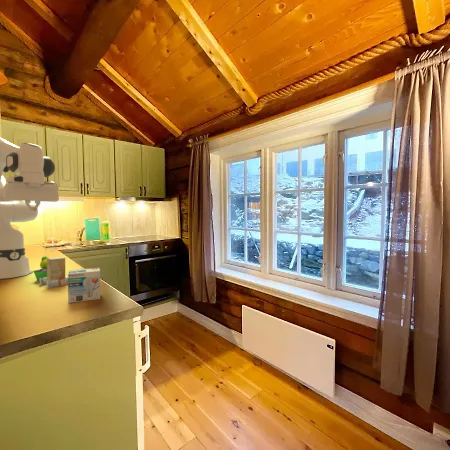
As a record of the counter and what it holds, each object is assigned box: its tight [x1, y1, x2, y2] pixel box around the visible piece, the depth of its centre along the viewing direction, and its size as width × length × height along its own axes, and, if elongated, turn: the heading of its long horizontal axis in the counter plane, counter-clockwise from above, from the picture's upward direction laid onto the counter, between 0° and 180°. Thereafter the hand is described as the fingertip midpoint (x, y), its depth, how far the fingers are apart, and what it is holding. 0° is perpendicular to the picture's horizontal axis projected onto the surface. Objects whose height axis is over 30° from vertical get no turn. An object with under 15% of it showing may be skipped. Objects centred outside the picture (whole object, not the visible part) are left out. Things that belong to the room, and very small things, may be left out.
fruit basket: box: [32, 256, 50, 282], centre depth 127 cm, size 11×9×11 cm
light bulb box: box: [67, 267, 101, 304], centre depth 97 cm, size 11×7×11 cm, turn 117°
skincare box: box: [47, 256, 66, 281], centre depth 117 cm, size 6×4×12 cm
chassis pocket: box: [39, 275, 68, 289], centre depth 120 cm, size 18×13×3 cm
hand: (33, 211), depth 115 cm, fingers closed
